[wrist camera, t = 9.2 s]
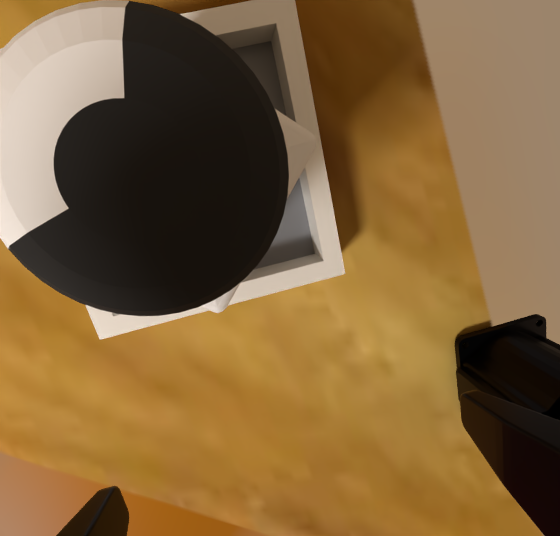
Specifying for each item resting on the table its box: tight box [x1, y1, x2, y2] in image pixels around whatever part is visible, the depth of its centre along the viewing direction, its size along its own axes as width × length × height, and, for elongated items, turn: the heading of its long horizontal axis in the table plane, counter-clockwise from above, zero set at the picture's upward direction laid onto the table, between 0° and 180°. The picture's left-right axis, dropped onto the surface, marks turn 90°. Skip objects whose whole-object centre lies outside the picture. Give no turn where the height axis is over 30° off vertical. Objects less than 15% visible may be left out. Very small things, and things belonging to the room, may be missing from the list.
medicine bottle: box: [0, 0, 317, 316], centre depth 12 cm, size 7×7×12 cm
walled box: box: [0, 0, 345, 339], centre depth 17 cm, size 13×13×2 cm
